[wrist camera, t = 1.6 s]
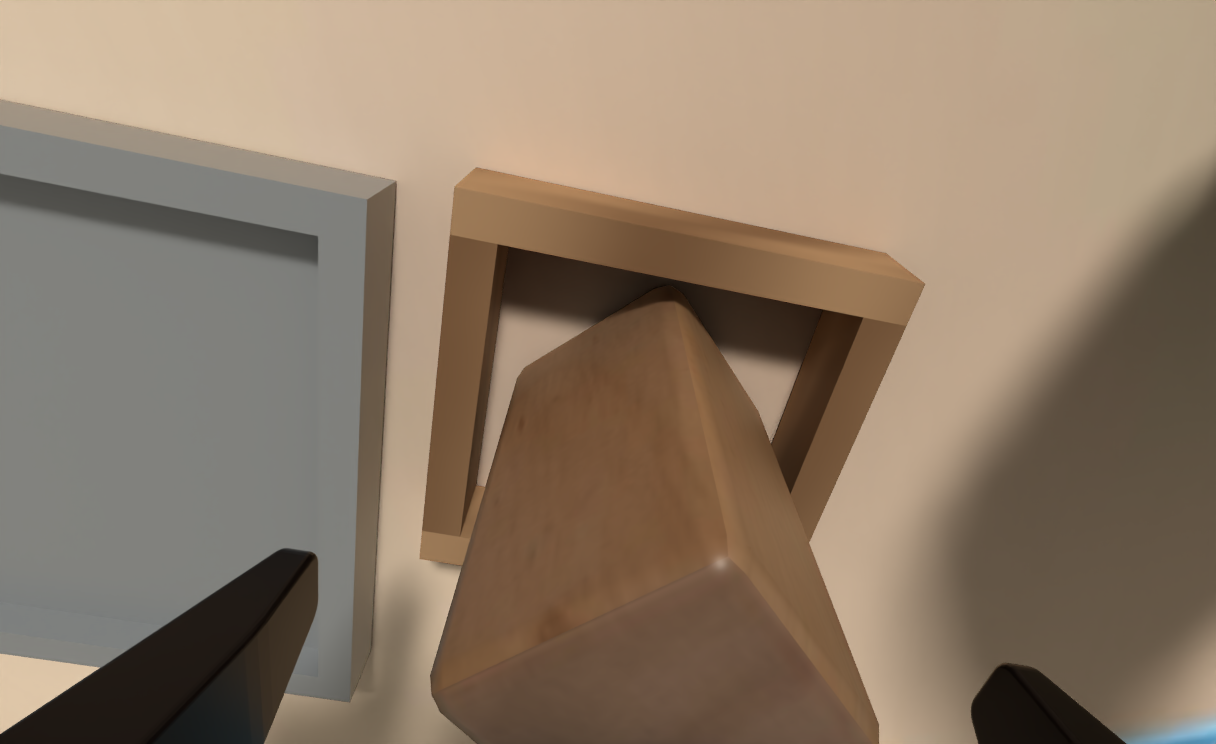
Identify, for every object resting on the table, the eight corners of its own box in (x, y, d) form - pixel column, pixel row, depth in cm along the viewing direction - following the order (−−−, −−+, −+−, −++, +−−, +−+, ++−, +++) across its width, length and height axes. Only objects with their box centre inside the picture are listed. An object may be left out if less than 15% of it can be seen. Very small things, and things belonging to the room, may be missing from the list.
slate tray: (396, 181, 12) (367, 199, 11) (370, 650, 18) (350, 702, 17) (-364, 24, 11) (-509, 22, 10) (-131, 576, 17) (-199, 625, 16)
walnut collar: (886, 253, 13) (925, 284, 11) (760, 559, 16) (776, 615, 15) (475, 166, 12) (454, 186, 10) (439, 505, 16) (419, 558, 14)
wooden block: (512, 368, 14) (404, 706, 7) (670, 270, 13) (738, 549, 6) (613, 493, 16) (611, 876, 8) (762, 414, 14) (905, 775, 7)
